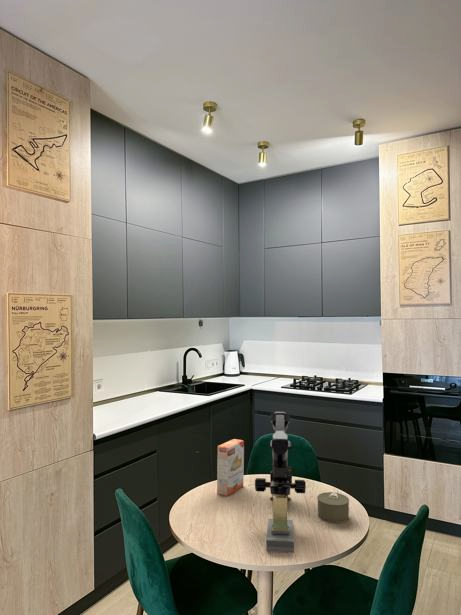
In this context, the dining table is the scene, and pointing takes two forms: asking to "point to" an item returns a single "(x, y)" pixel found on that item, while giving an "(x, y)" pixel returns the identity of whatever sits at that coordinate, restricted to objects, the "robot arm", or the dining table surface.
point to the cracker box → (230, 467)
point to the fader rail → (280, 539)
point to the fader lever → (280, 515)
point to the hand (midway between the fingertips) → (280, 508)
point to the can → (333, 507)
